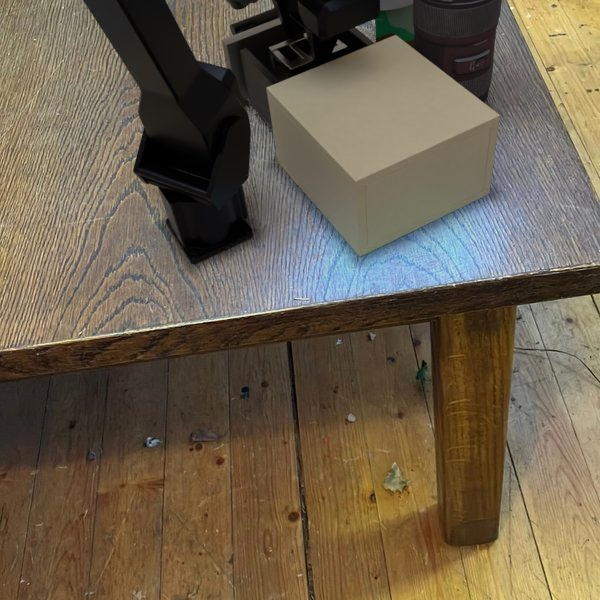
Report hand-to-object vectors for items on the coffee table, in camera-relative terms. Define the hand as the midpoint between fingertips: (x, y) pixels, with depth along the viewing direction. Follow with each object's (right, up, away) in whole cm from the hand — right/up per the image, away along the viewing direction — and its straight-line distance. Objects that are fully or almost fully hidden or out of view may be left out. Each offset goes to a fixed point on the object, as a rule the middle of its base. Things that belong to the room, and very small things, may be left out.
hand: (308, 55), depth 73 cm
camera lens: (+15, -4, +4) cm, 16 cm away
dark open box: (0, -2, +6) cm, 6 cm away
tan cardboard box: (+7, -13, -2) cm, 15 cm away
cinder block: (0, -1, +1) cm, 1 cm away
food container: (+12, +5, +12) cm, 17 cm away
